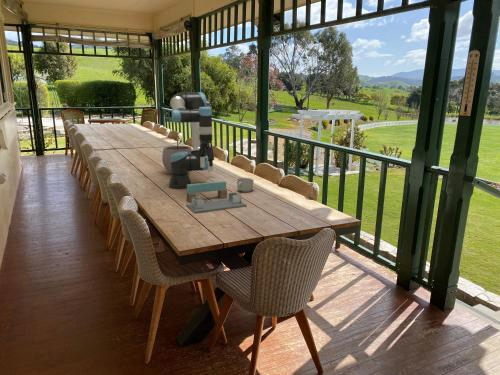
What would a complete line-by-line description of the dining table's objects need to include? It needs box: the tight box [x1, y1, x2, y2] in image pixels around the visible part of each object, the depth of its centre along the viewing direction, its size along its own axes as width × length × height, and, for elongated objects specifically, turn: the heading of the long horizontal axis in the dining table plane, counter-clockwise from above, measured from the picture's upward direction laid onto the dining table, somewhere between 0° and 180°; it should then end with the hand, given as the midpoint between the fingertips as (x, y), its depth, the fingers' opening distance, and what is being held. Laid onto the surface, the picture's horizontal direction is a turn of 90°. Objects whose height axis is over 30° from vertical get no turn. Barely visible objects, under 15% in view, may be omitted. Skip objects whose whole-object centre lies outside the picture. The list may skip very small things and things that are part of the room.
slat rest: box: [186, 189, 228, 204], centre depth 236 cm, size 6×24×5 cm, turn 116°
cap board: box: [186, 198, 247, 214], centre depth 223 cm, size 15×31×1 cm, turn 116°
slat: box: [186, 180, 227, 194], centre depth 235 cm, size 3×24×5 cm, turn 116°
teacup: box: [236, 177, 255, 193], centre depth 254 cm, size 14×11×8 cm
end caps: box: [190, 191, 242, 209], centre depth 222 cm, size 7×28×5 cm, turn 116°
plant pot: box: [161, 135, 193, 174], centre depth 301 cm, size 24×24×30 cm
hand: (206, 169), depth 232 cm, fingers open, 13 cm apart
